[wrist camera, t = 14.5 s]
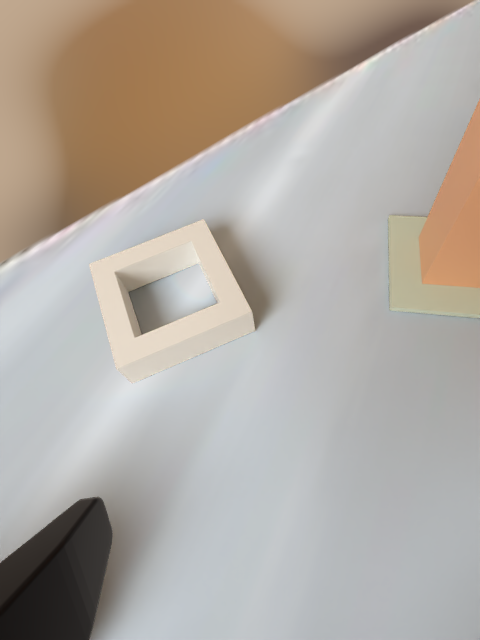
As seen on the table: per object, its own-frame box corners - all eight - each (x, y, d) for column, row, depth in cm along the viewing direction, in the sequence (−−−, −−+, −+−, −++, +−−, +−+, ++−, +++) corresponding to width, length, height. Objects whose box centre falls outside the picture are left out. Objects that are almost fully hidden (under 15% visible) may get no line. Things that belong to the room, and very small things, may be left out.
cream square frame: (210, 242, 29) (203, 219, 27) (255, 330, 24) (252, 311, 22) (104, 284, 28) (89, 264, 26) (132, 383, 24) (116, 368, 21)
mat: (506, 224, 26) (509, 220, 26) (527, 322, 23) (531, 319, 22) (388, 219, 28) (389, 215, 27) (389, 310, 24) (390, 307, 24)
